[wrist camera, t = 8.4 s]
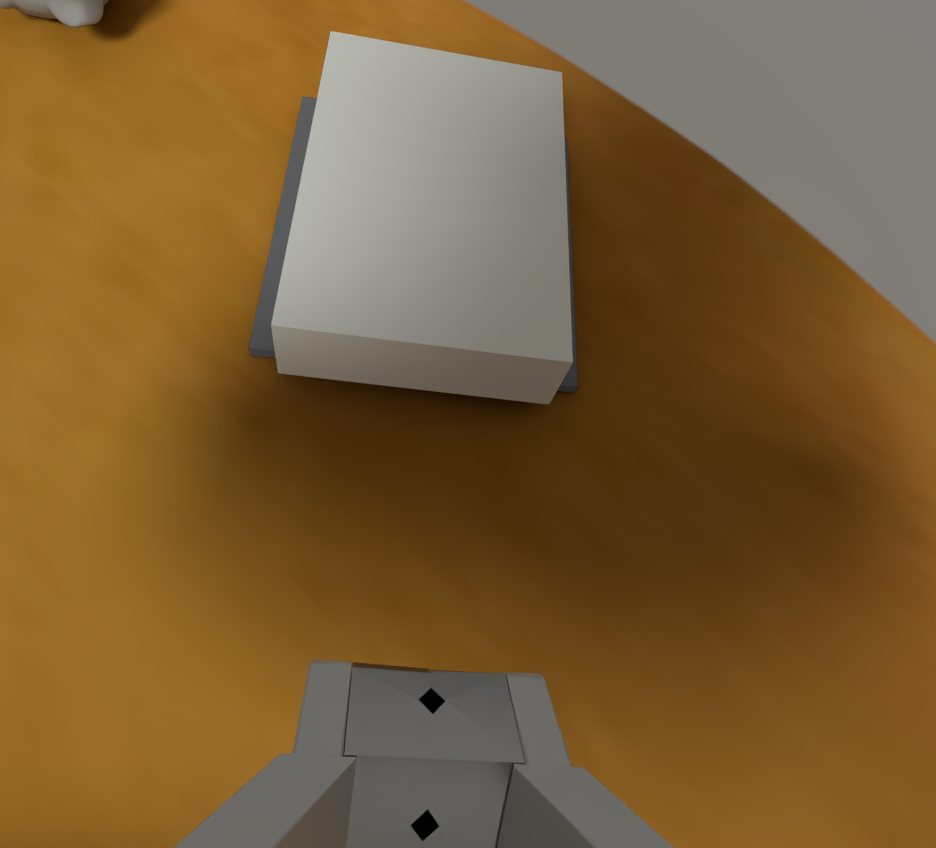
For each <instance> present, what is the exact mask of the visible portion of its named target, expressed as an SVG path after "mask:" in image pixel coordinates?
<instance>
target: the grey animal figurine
mask: <svg viewBox="0 0 936 848" xmlns="http://www.w3.org/2000/svg"><path fill="white" fill-rule="evenodd" d="M108 1H109V0H0V8H2V9H11V8H15V9H17V10H18V11H20V12H23V13H25V14H29V15H32V16H37V17H41V18H47V19H58V20H59V21H60V22H62V23H63V24H65V25H68V26H71V27H82V26H86V25H93V24H96V23H98V22H99V21H100V20H101V18H102V15H103V6H104V5H105V4H106V3H107V2H108Z"/></svg>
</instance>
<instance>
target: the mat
mask: <svg viewBox="0 0 936 848" xmlns="http://www.w3.org/2000/svg"><path fill="white" fill-rule="evenodd" d="M316 101H317V99H316V98H310V97H304V96H303V98H302V102H301V107H300V112H299V116H298V121H297V125H296V130H295V135H294V139H293V144H292V149H291V153H290V158H289V163H288V167H287V172H286V177H285V181H284V186H283V191H282V195H281V200H280V205H279V209H278V214H277V219H276V223H275V228H274V233H273V237H272V242H271V247H270V251H269V256H268V261H267V265H266V270H265V275H264V279H263V284H262V289H261V293H260V298H259V303H258V307H257V312H256V317H255V321H254V326H253V331H252V335H251V340H250V345H249V352H250V355H252V356H261V357H269V358H276V357H275V350H274V343H273V336H272V329H271V323H272V318H273V313H274V308H275V303H276V298H277V293H278V288H279V283H280V278H281V273H282V268H283V264H284V259H285V254H286V249H287V244H288V239H289V234H290V229H291V224H292V219H293V214H294V209H295V205H296V200H297V195H298V190H299V185H300V180H301V175H302V170H303V165H304V160H305V155H306V151H307V146H308V141H309V136H310V131H311V126H312V121H313V116H314V111H315V106H316ZM564 140H565V166H566V193H567V220H568V247H569V273H570V300H571V327H572V354H573V363H572V365H571V367H570V369H569V370H568V372H567V374H566V376H565V377H564V379H563V381H562V383H561V385H560V386H559V388H558V390H557V391H563V392H571V393H574V392H575V390H576V389H577V387H578V378H577V355H576V331H575V308H574V285H573V262H572V238H571V215H570V192H569V168H568V145H567V140H566V139H564Z"/></svg>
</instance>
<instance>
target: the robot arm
mask: <svg viewBox="0 0 936 848" xmlns="http://www.w3.org/2000/svg"><path fill="white" fill-rule="evenodd" d="M350 676H351V678H350ZM174 848H674V847H673V846H672V845H670V844H669V843H668V842H667V841H666V840H665V839H664V838H663V837H661V836H660V835H659V834H658V833H657V832H656V831H655V830H654V829H652V828H651V827H650V826H649V825H648V824H647V823H646V822H644V821H643V820H642V819H641V818H640V817H639V816H638V815H637V814H635V813H634V812H633V811H632V810H631V809H630V808H629V807H628V806H626V805H625V804H624V803H623V802H622V801H621V800H620V799H619V798H617V797H616V796H615V795H614V794H613V793H612V792H611V791H610V790H608V789H607V788H606V787H605V786H604V785H603V784H602V783H600V782H599V781H598V780H597V779H596V778H595V777H594V776H593V775H591V774H590V773H589V772H588V771H587V770H586V769H585V768H583V767H572V765H571V762H570V758H569V755H568V752H567V749H566V746H565V742H564V739H563V736H562V733H561V730H560V726H559V723H558V720H557V717H556V714H555V710H554V707H553V704H552V701H551V698H550V694H549V691H548V688H547V685H546V682H545V678H544V677H543V676H542V675H541V674H540V673H509V672H503V673H502V674H499V673H482V672H464V671H447V670H430V669H426V668H414V667H402V666H390V665H379V664H367V663H355V662H353V663H352V671H351V663H350V662H340V661H325V660H312V661H311V663H310V665H309V668H308V674H307V679H306V684H305V689H304V695H303V700H302V705H301V711H300V716H299V721H298V726H297V732H296V737H295V742H294V747H293V753H292V754H279V755H278V756H277V757H276V758H274V759H273V760H272V761H271V762H270V763H269V764H268V765H266V766H265V767H264V768H263V769H262V770H261V771H260V772H259V773H257V774H256V775H255V776H254V777H253V778H252V779H251V780H250V781H248V782H247V783H246V784H245V785H244V786H243V787H242V788H241V789H239V790H238V791H237V792H236V793H235V794H234V795H233V796H232V797H230V798H229V799H228V800H227V801H226V802H225V803H224V804H222V805H221V806H220V807H219V808H218V809H217V810H216V811H215V812H213V813H212V814H211V815H210V816H209V817H208V818H207V819H206V820H204V821H203V822H202V823H201V824H200V825H199V826H198V827H197V828H195V829H194V830H193V831H192V832H191V833H190V834H189V835H187V836H186V837H185V838H184V839H183V840H182V841H181V842H180V843H178V844H177V845H176V846H175V847H174Z"/></svg>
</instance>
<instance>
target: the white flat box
mask: <svg viewBox="0 0 936 848" xmlns="http://www.w3.org/2000/svg"><path fill="white" fill-rule="evenodd" d="M271 329H272V336H273V343H274V350H275V357H276V363H277V370H278V373H279V374H288V375H297V376H305V377H314V378H323V379H331V380H340V381H349V382H357V383H366V384H375V385H383V386H392V387H401V388H409V389H418V390H427V391H435V392H444V393H453V394H462V395H470V396H479V397H488V398H496V399H505V400H514V401H522V402H531V403H540V404H548V405H549V404H550V402H551V401H552V399H553V397H554V395H555V394H556V392H557V390H558V388H559V386H560V385H561V383H562V381H563V379H564V377H565V376H566V374H567V372H568V370H569V369H570V367H571V365H572V363H573V354H572V327H571V300H570V273H569V247H568V220H567V193H566V166H565V140H564V113H563V86H562V72H557V71H552V70H546V69H541V68H535V67H529V66H524V65H518V64H512V63H507V62H501V61H496V60H490V59H484V58H479V57H473V56H468V55H462V54H456V53H451V52H445V51H440V50H434V49H428V48H423V47H417V46H412V45H406V44H400V43H395V42H389V41H384V40H378V39H372V38H367V37H361V36H355V35H350V34H344V33H339V32H333V31H331V33H330V37H329V42H328V47H327V52H326V57H325V62H324V67H323V72H322V77H321V82H320V87H319V92H318V96H317V101H316V106H315V111H314V116H313V121H312V126H311V131H310V136H309V141H308V146H307V151H306V155H305V160H304V165H303V170H302V175H301V180H300V185H299V190H298V195H297V200H296V205H295V209H294V214H293V219H292V224H291V229H290V234H289V239H288V244H287V249H286V254H285V259H284V264H283V268H282V273H281V278H280V283H279V288H278V293H277V298H276V303H275V308H274V313H273V318H272V323H271Z"/></svg>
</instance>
